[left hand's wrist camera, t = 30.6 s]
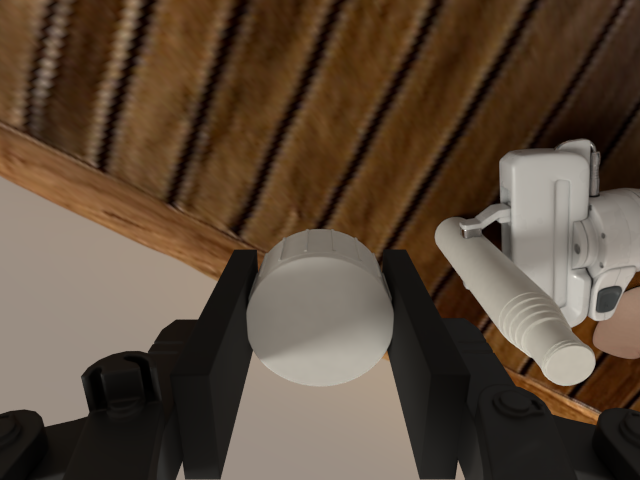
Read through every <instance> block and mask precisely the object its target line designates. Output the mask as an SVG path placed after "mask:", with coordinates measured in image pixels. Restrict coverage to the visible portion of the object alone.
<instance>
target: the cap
mask: <svg viewBox="0 0 640 480" xmlns="http://www.w3.org/2000/svg"><path fill="white" fill-rule="evenodd" d="M248 301H249V302H248V305H247V310H246V316H247V331H248V340H249V342H250V345H251V347H252V349H253V351H254V352H255V354H256V355H257V357H258V358H259V359H260V360H261V362H262V363H263V364H264V365H265V366H267V367H268V368H269V369H270V370H271V371H273V372H274V373H276V374H277V375H279V376H281V377H283V378H285V379H287V380H289V381H292V382H295V383H299V384H303V385H309V386H331V385H337V384H341V383H345V382H348V381H350V380H353V379H355V378H357V377H359V376H361V375H363V374H364V373H366V372H367V371H369V370H370V369H371V368H372V367H373V366H375V365H376V364H377V362H378V361H379V360H380V359H381V358H382V357H383V355H384V354H385V352H386V351H387V349H388V347H389V345H390V342H391V339H392V334H393V321H394V310H393V306H392V303H391V301H392V297H391V294H390V291H389V288H388V285H387V282H386V279H385V276H384V273H382V272H381V269H380V267H379V264H378V262H377V260H376V257H375V254H374V253H371V252H370V251H369V250H368V248H366V247H365V246H364V245H363V244H362V243H361V242H359V241H358V240H357V238H353V237H351V236H349V235H347V234H344V233H341V232H337V231H334V230H333V229H331V230H325V229H314V230H309V229H306V231H303V232H299V233H296V234H294V235H291V236H289V237H287V238H283V240H282V241H281V242H279V243H278V244H277V245H276V246H274V248H273V249H272V250H271V251H270V252H269V253H266V254H265V257H264V260H263V262H262V264H261V266H260V269H259V272H258V273H257V274H256V277H255V280H254V283H253V286H252V289H251V292H250V295H249V298H248Z"/></svg>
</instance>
